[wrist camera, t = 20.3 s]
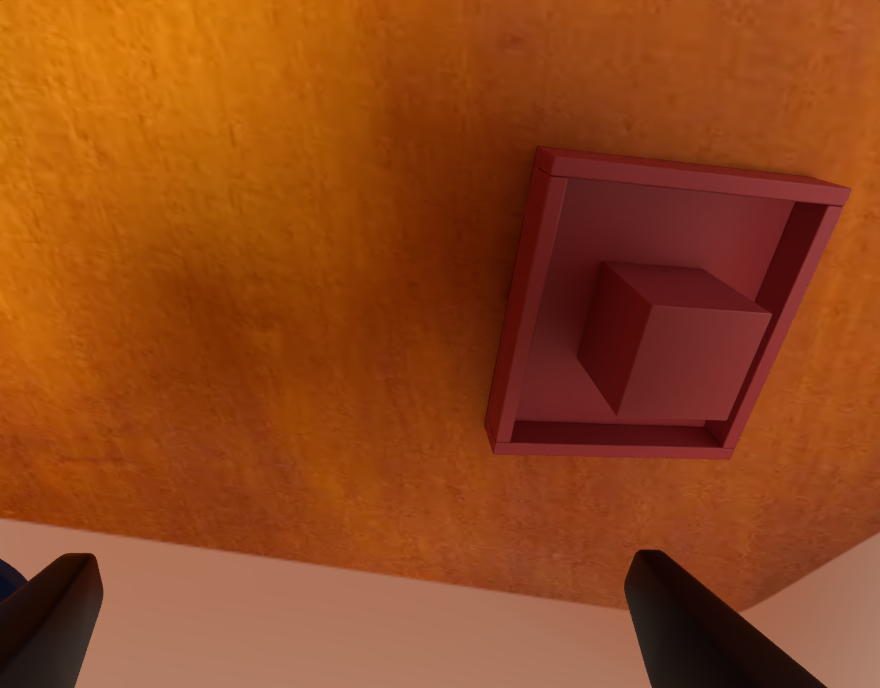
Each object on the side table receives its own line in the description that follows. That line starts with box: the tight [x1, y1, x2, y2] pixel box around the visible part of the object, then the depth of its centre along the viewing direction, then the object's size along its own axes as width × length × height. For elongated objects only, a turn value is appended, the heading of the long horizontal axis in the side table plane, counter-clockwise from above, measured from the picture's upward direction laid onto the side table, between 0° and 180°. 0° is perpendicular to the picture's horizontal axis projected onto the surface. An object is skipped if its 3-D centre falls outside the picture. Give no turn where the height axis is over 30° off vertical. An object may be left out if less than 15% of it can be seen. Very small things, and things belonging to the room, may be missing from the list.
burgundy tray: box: [484, 146, 851, 460], centre depth 21 cm, size 11×10×2 cm
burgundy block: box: [577, 261, 772, 420], centre depth 19 cm, size 4×4×4 cm
